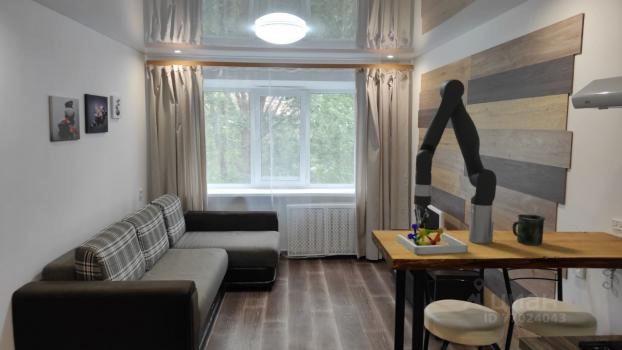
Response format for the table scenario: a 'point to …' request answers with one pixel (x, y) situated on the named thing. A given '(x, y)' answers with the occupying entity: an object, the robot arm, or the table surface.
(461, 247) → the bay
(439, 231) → the decorative model
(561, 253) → the table surface
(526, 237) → the mug
